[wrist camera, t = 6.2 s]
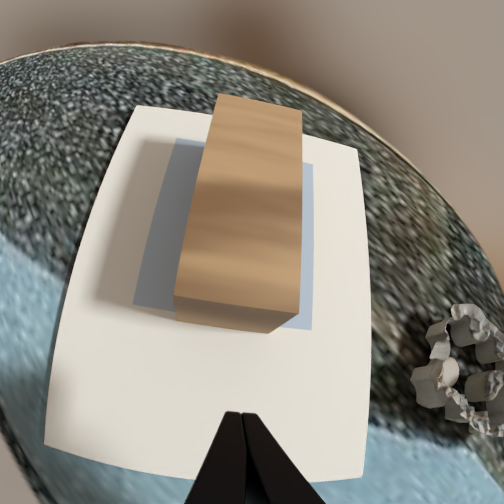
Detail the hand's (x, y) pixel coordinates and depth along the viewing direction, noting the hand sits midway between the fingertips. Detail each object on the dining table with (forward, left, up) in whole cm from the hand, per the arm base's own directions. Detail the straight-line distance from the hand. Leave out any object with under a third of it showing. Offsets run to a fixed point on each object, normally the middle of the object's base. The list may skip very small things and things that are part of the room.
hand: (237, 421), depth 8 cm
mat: (+8, 0, -9) cm, 12 cm away
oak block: (+4, 0, -6) cm, 7 cm away
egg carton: (+2, -18, -9) cm, 21 cm away
